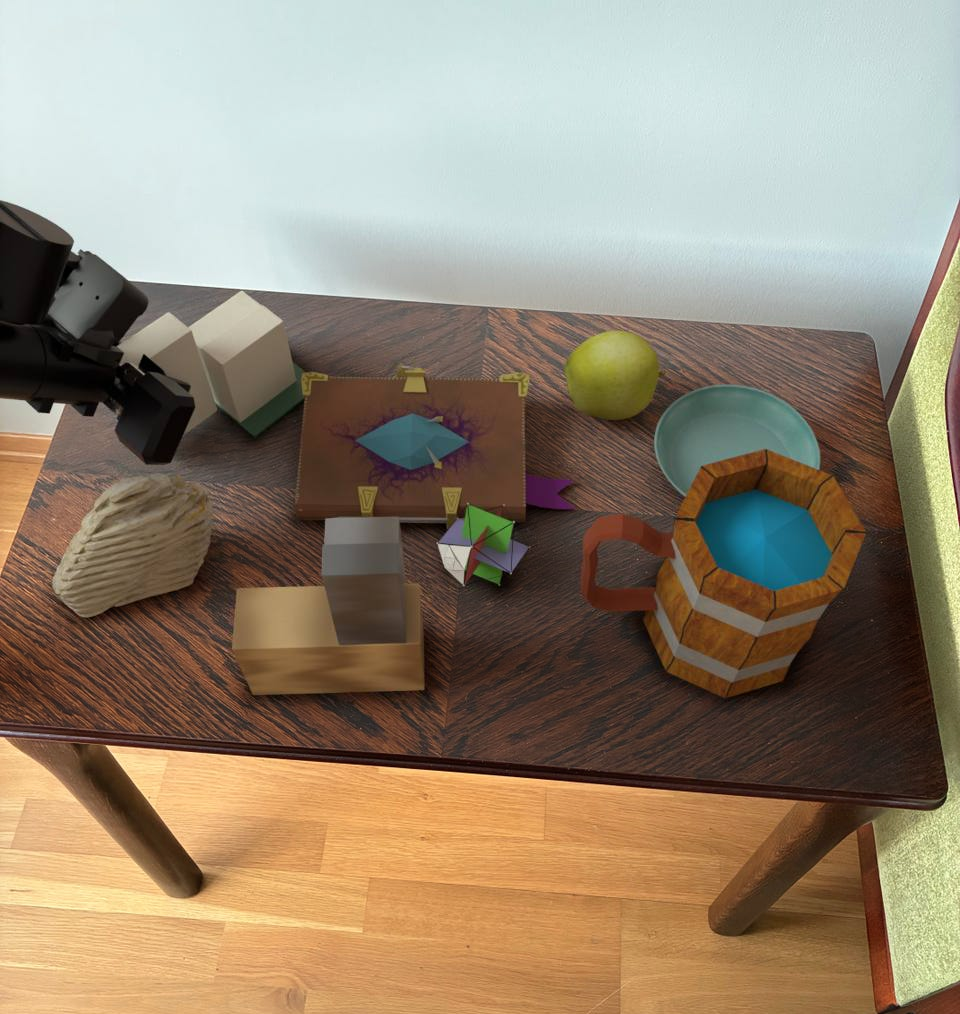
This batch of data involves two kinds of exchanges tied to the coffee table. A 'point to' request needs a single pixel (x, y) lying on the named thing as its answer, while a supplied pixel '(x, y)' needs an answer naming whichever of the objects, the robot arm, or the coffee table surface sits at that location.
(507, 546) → the geometric puzzle
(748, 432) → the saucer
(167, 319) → the cream rectangular block
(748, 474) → the mug
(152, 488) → the fossil tooth
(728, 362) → the coffee table surface
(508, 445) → the book
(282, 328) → the cream and green block
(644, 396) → the apple
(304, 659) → the wood and grey block
